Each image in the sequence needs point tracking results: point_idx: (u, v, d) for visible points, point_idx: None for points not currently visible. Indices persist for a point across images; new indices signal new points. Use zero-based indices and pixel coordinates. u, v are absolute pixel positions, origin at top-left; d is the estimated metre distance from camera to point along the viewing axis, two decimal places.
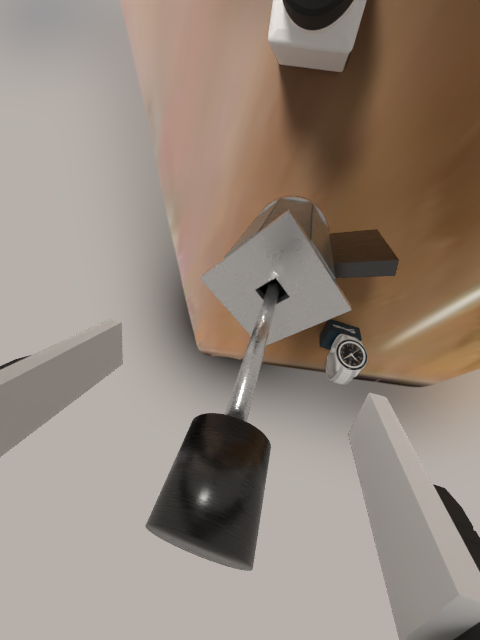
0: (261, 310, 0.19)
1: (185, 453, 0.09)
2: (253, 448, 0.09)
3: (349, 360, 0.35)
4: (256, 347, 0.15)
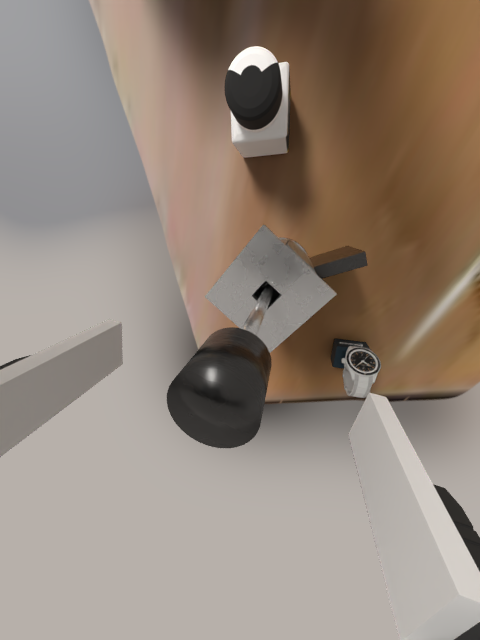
0: (257, 301, 0.22)
1: (196, 352, 0.11)
2: (251, 341, 0.11)
3: (362, 367, 0.35)
4: (254, 315, 0.18)
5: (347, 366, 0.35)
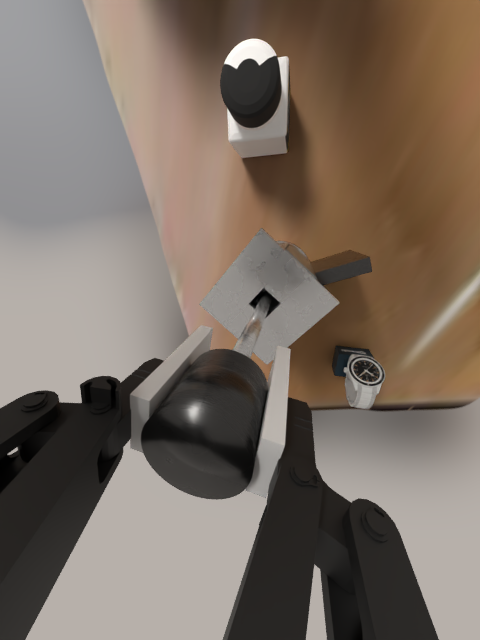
0: (254, 310, 0.21)
1: None
2: (244, 367, 0.10)
3: (365, 377, 0.33)
4: (249, 328, 0.17)
5: (350, 376, 0.34)
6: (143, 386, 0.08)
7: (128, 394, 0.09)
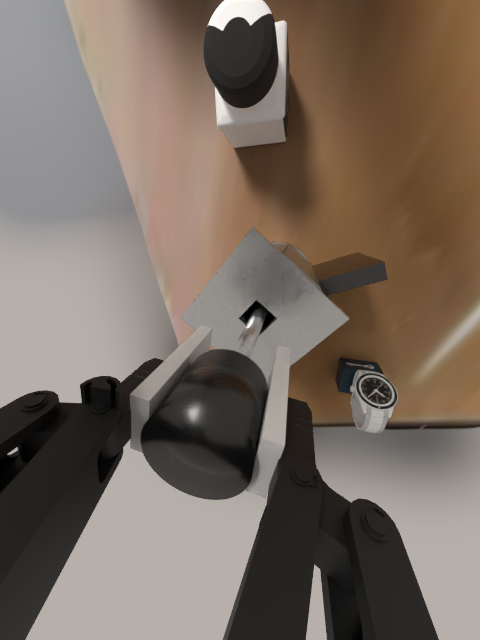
0: (254, 310, 0.21)
1: (179, 380, 0.10)
2: (244, 367, 0.10)
3: (375, 398, 0.29)
4: (249, 328, 0.17)
5: (357, 396, 0.29)
6: (143, 386, 0.08)
7: (128, 394, 0.09)
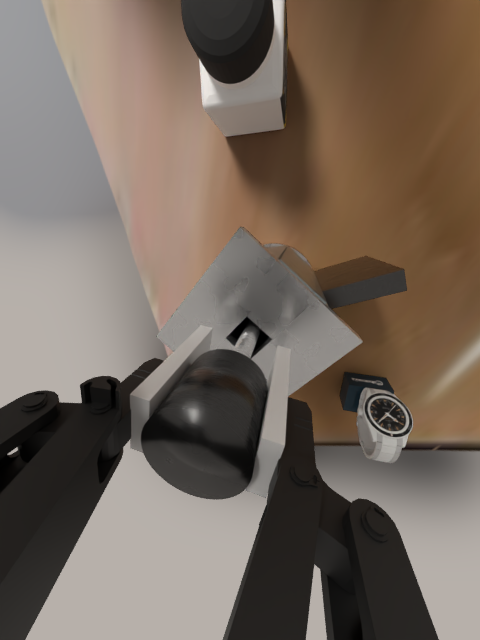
0: None
1: (179, 380, 0.10)
2: (244, 367, 0.10)
3: (387, 423, 0.25)
4: (249, 328, 0.17)
5: (366, 421, 0.26)
6: (143, 386, 0.08)
7: (128, 394, 0.09)
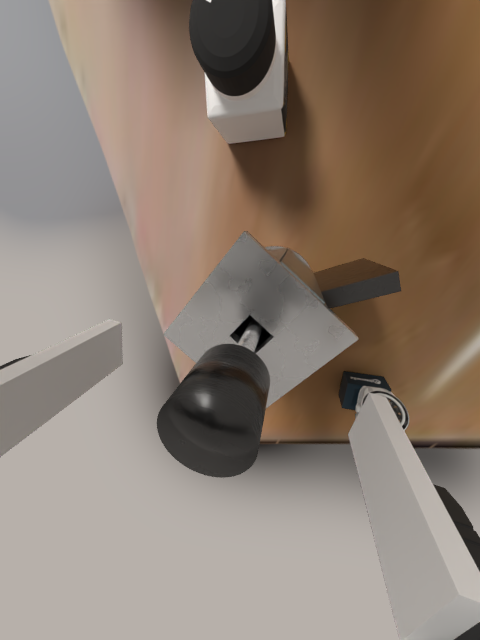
0: None
1: (190, 371, 0.11)
2: (249, 359, 0.11)
3: None
4: (252, 326, 0.17)
5: None
6: None
7: None
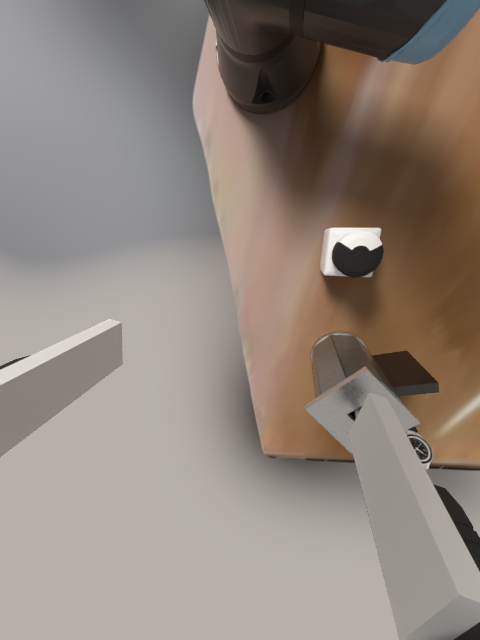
0: None
1: None
2: None
3: (417, 454, 0.41)
4: None
5: None
6: None
7: None
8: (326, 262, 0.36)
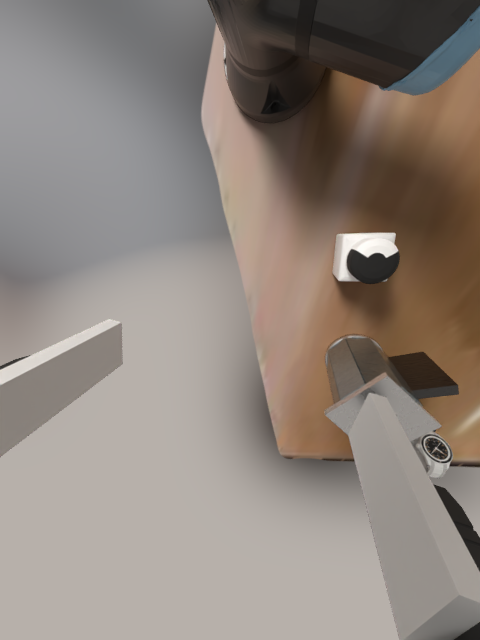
0: None
1: None
2: None
3: (436, 454, 0.41)
4: None
5: (423, 452, 0.42)
6: None
7: None
8: (340, 268, 0.36)
